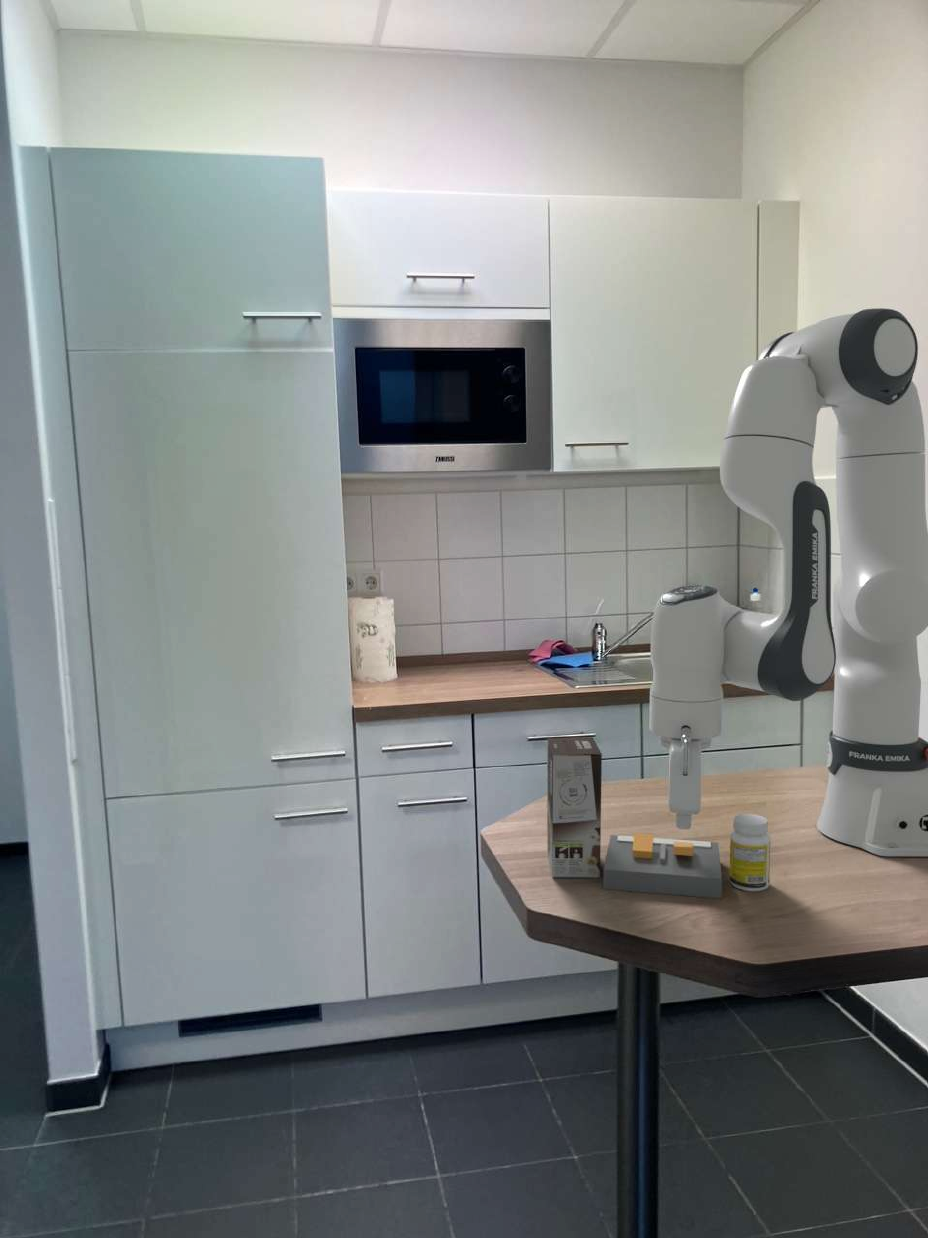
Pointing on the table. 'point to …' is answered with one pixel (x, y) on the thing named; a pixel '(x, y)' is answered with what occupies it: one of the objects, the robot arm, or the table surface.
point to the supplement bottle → (750, 853)
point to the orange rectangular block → (683, 848)
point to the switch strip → (664, 868)
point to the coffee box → (574, 806)
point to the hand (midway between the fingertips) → (683, 825)
